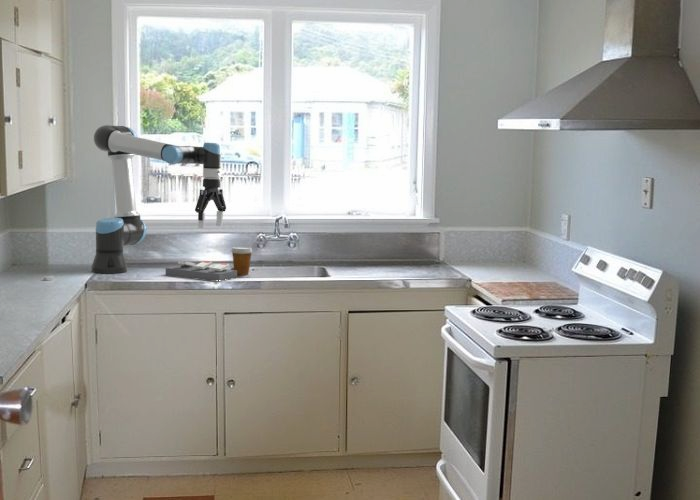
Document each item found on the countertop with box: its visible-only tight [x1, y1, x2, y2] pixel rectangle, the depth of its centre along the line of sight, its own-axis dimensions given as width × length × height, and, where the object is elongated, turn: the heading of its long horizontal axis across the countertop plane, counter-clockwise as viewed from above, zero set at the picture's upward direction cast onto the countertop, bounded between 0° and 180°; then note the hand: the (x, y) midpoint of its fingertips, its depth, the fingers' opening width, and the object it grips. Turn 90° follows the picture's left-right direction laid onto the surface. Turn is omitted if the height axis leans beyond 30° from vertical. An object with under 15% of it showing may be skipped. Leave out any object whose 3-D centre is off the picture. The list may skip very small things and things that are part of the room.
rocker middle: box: [195, 260, 213, 269], centre depth 372 cm, size 4×7×1 cm, turn 155°
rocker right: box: [211, 262, 230, 271], centre depth 368 cm, size 4×7×1 cm, turn 155°
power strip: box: [164, 264, 238, 282], centre depth 371 cm, size 28×14×4 cm, turn 65°
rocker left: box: [177, 260, 196, 266], centre depth 376 cm, size 4×7×1 cm, turn 155°
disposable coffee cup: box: [230, 246, 253, 276], centre depth 382 cm, size 10×10×12 cm
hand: (210, 227), depth 370 cm, fingers open, 13 cm apart
